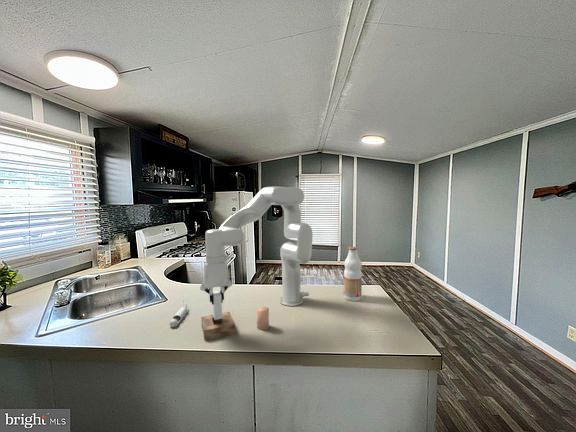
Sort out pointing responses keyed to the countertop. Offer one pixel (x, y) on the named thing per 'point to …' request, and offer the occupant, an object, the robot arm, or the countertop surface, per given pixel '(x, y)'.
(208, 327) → the slot block
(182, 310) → the white long slotted part
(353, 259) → the fruit juice
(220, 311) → the flat bar peg
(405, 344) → the countertop surface
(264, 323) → the round peg
